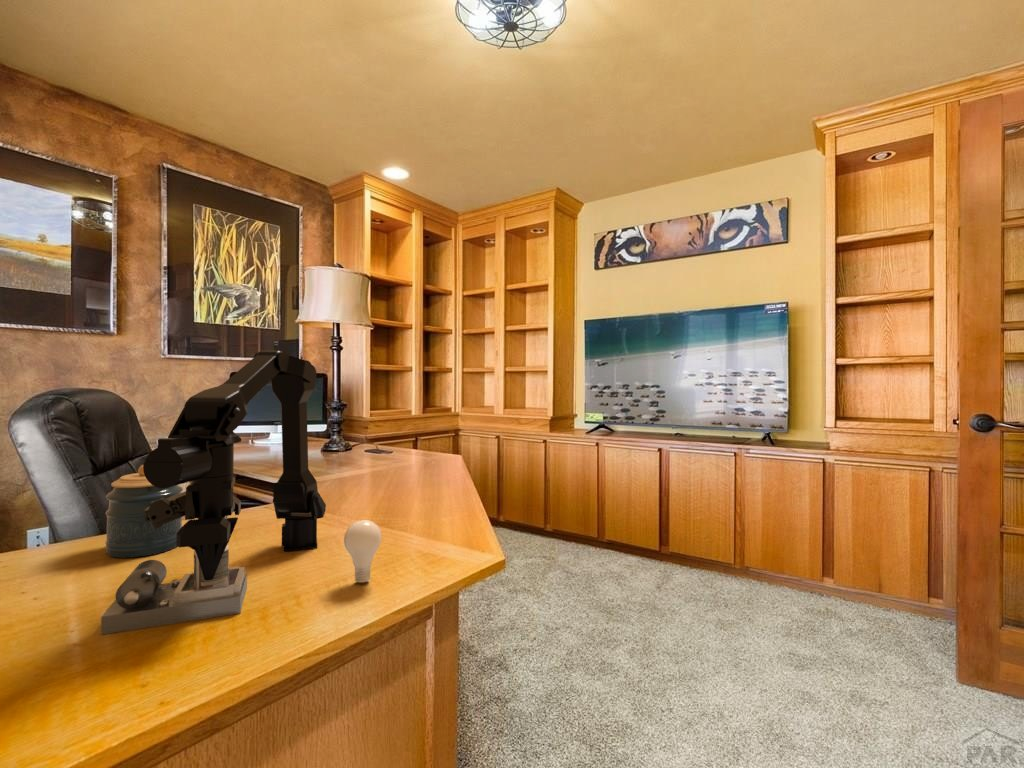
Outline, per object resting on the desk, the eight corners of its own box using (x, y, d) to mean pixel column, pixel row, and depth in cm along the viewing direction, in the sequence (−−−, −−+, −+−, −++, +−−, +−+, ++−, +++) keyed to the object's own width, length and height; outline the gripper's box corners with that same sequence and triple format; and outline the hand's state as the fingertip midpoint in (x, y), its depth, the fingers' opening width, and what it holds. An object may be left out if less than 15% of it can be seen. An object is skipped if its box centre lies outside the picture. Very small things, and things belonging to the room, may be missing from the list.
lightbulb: (346, 593, 83) (347, 527, 83) (340, 579, 88) (341, 518, 88) (384, 586, 86) (385, 523, 86) (376, 573, 91) (377, 514, 91)
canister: (157, 535, 112) (158, 457, 112) (196, 543, 107) (197, 462, 107) (90, 553, 100) (91, 466, 100) (130, 563, 95) (131, 471, 95)
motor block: (246, 587, 84) (247, 547, 84) (239, 615, 74) (240, 569, 74) (124, 604, 78) (125, 560, 78) (99, 636, 68) (99, 586, 68)
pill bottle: (235, 584, 79) (235, 531, 80) (209, 595, 75) (209, 540, 75) (213, 580, 81) (213, 529, 81) (186, 591, 76) (186, 537, 77)
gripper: (166, 467, 83) (165, 559, 83) (131, 491, 66) (131, 607, 66) (241, 464, 88) (240, 551, 88) (227, 485, 70) (226, 593, 71)
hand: (212, 573), depth 78 cm, fingers open, 5 cm apart
